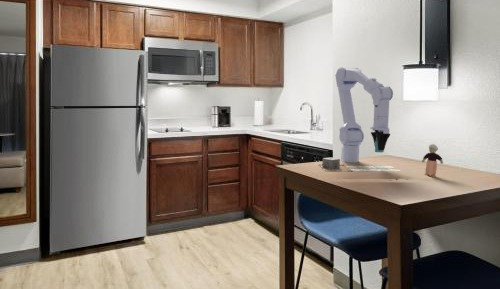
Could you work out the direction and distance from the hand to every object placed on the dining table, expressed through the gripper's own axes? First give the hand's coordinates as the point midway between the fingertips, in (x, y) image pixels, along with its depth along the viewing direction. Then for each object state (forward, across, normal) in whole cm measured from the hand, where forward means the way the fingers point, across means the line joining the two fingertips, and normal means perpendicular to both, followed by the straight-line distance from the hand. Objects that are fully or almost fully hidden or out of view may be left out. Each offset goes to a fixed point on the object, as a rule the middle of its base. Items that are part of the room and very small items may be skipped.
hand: (379, 149), depth 161 cm
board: (+9, 0, -9) cm, 13 cm away
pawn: (+1, 0, 0) cm, 1 cm away
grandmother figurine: (+9, +10, +18) cm, 22 cm away
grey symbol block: (+9, -2, -20) cm, 22 cm away
